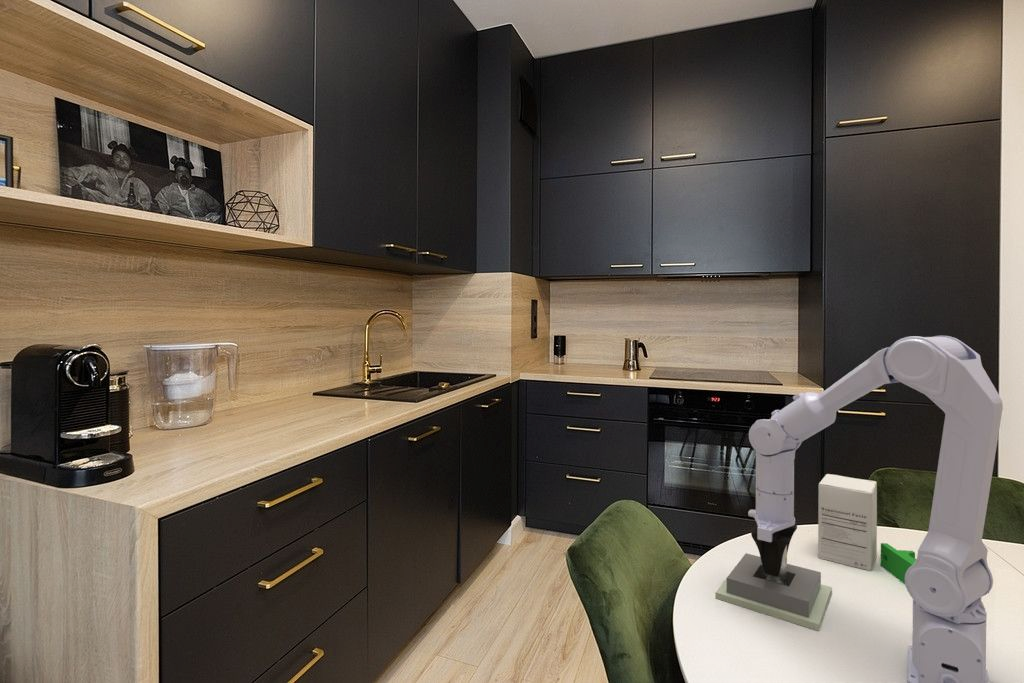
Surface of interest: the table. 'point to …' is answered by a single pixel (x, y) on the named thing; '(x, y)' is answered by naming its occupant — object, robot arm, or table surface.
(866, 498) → the supplement box
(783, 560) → the silver metal cylinder
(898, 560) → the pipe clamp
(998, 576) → the table surface
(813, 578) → the dock
